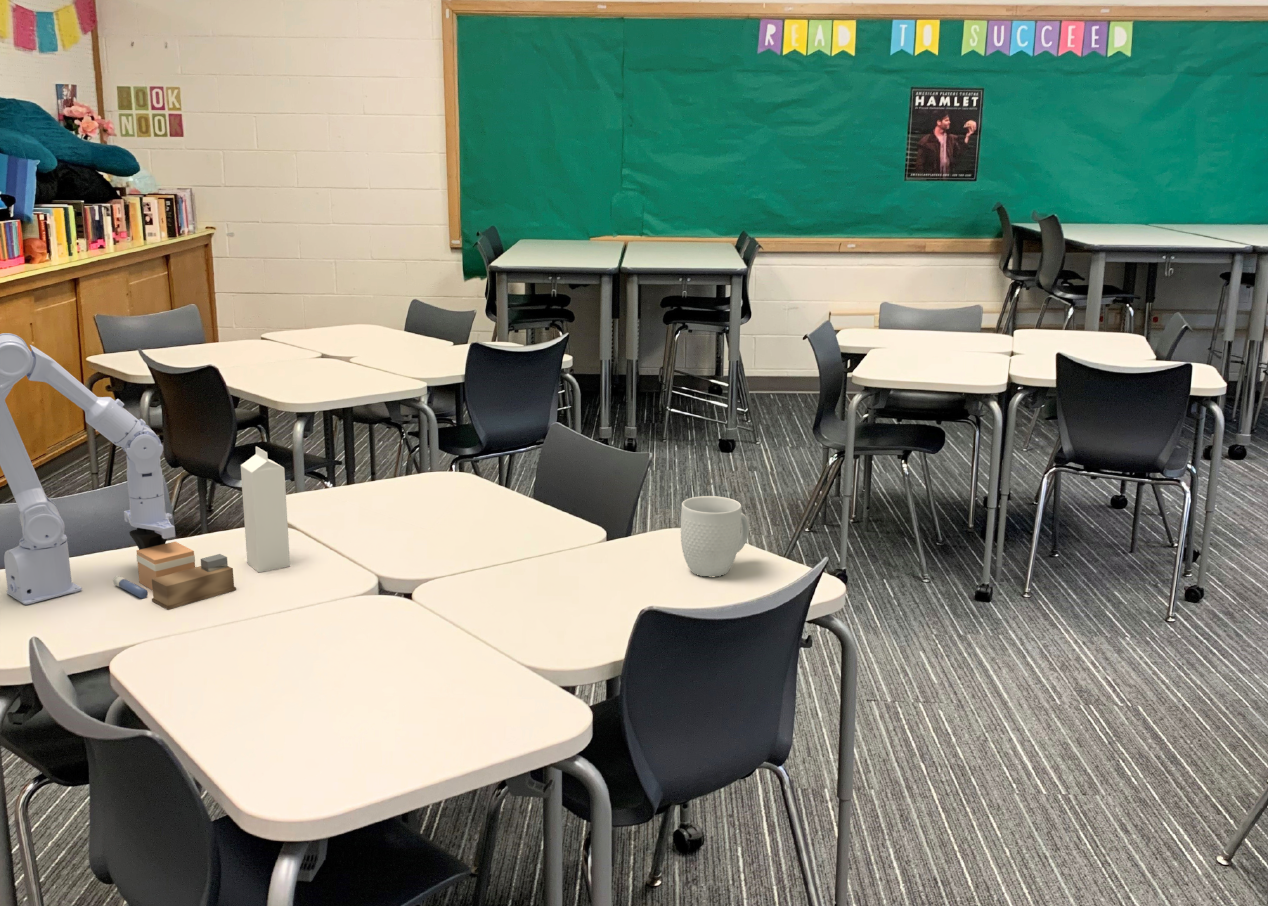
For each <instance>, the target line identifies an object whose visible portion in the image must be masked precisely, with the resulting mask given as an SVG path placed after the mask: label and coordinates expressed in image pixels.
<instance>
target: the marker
mask: <svg viewBox="0 0 1268 906" xmlns="http://www.w3.org/2000/svg"><path fill="white" fill-rule="evenodd" d="M112 582H113V584H114V585H115V586H117V587H119V588H121V589H122V590H125V591H126V592H128V593H130V594H132V595H134V596H136V597H138V598H140V599H141V600H142V599H145V598H147V597H148V594H149V591H148V590H147V589H145V588H144V587H142V586H139V585H137V584H136V583H134V582H132V581H130V580H129V579H127V578H125V577H124V576H121V575H117V576H115V577H114V578H113V579H112Z"/></svg>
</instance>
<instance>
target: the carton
mask: <svg viewBox="0 0 1268 906" xmlns="http://www.w3.org/2000/svg"><path fill="white" fill-rule="evenodd" d="M136 562H137V570H138V572H137V573H138V580H139V581H138V582H139V584H142V586H144V587H146V588H148V589H149V590H152V591H153V588H152V579H154V578H157V577H161V576H165V575H169V574H172V573H176V572H180V571H184V570H188V569H191V568H195V567H196V555H195V551H194V550H193V549H191V548H189V547H187V546H185V545H184V544H181V543H179V542H177V541H172V542H168V543H165V544H162V545H158V546H153V547H149V548H145V549H140V550H139V549H137V550H136Z"/></svg>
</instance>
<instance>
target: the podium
mask: <svg viewBox="0 0 1268 906" xmlns="http://www.w3.org/2000/svg"><path fill="white" fill-rule="evenodd" d="M152 588H153V590H152V597H153V598H151V602H152V603H155V604H156V605H158V606H160V607H162V608H164V609H165V610H168V611H169V610H172V609H175V608H179V607H182V606H186V605H190V604H192V603H196V602H199V601H203V600H206V599H210V598H213V597H216V596H220V595H223V594H228V593H231V592H234V591H236V590H237V587H236V586H235V579H234V569H233V567H230V566H229V565H228V567H226V568H222V569H218V570H214V571H211V572H207V571H205V570H203V569H201V565H199V566H195V568H191V569H188V570H184V571H180V572H176V573H172V574H169V575H165V576H161V577H157V578H154V579H152Z"/></svg>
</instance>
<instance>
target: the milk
mask: <svg viewBox="0 0 1268 906" xmlns="http://www.w3.org/2000/svg"><path fill="white" fill-rule="evenodd" d="M240 473H241V475H240V476H241V478H240V479H241V491H242V506H243V517H244V518H243V520H244V533H245V534H244V537H245V550H246V561H247V562H246V563H247V564H248V565H249V567H251V568H252V569H254V570H255V571H256V572H257V573H263V572H268V571H269V572H270V571H272V570H279V569H283V568H289V567H291V561H290V560H291V559H290V543H289V540H290V538H289V524H288V523H289V522H288V508H287V507H288V506H287V493H286V491H287V490H286V489H287V487H286V475H285V467H284V466H282V465H281V464H280V463H279V464H278V463H277V462H275V461H274V460H272V459H269V458H268V451H265V450H264V449H261V448H260V447H258V446H255V454H254V455H252V456H251V457H249V459H247V460H245V462H243V463H241V464H240Z"/></svg>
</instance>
